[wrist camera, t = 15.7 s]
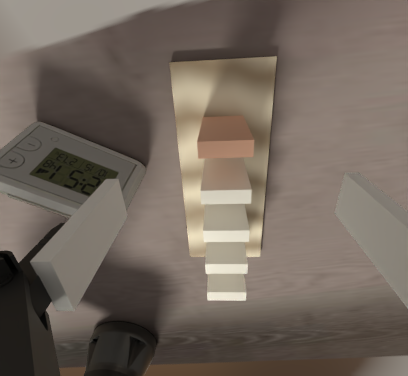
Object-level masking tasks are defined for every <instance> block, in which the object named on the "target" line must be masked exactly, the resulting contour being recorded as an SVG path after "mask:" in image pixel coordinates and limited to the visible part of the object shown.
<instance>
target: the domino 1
mask: <svg viewBox="0 0 408 376" xmlns="http://www.w3.org/2000/svg"><path fill="white" fill-rule="evenodd" d="M197 149H198V159H206V158H240V157H253V154H254V138H253V136H252V134H251V132H250V129H249V127H248V125H247V123H246V121H245V118H244V116H243V115H241V116H217V117H203V119H202V123H201V127H200V131H199V136H198V140H197Z"/></svg>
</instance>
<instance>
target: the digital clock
mask: <svg viewBox="0 0 408 376" xmlns="http://www.w3.org/2000/svg"><path fill="white" fill-rule="evenodd" d="M145 172H146V168H145V166H144V165H143V164H141V163H140V162H139V161H137V160H134V159H132V158H130V157H127V156H125V155H122V154H120V153H117V152H115V151H113V150H110V149H108V148H105V147H103V146H100V145H98V144H95V143H93V142H91V141H88V140H86V139H83V138H81V137H78V136H76V135H73V134H71V133H68V132H66V131H64V130H61V129H59V128H56V127H54V126H51V125H48V124H46V123H43V122H35V123H33V124H31V125H30V126H29V127H27V128H26V129H25V130H24V131H23V132H21V133H20V134H19V135H18V136H16V137H15V138H14V139H13V140H12V141H10V142H9V143H8V144H7V145H5V146H4V147H3V148H2V149H1V150H0V193H2V194H5V195H8V197H10V198H13V199H16V200H19V201H21V202H24V203H27V204H30V205H33V206H36V207H38V208H41V209H44V210H47V211H50V212H53V213H56V214H58V215H61V216H64V217H67V218H71V217H72V215H73V214H74V213H75V212H76V211H77V210H78V209H79V208H80V207H81V206H82V205H83V204H84V202H85V201H86V200H87V199H88V198H89V197H90V196H91V195H92V194H93V193H94V192H95V191H96V189H97V188H98V187H99V186H100V185H101V184H102V183H103V182H104V181H105V180H106V179H119V183H120V187H121V191H122V195H123V199H124V203H125V207H126V210H127V208H128V206H129V204H130V203H131V201H132V199H133V197H134V195H135V193H136V191H137V189H138V187H139V185H140V183H141V181H142V179H143V177H144V175H145Z"/></svg>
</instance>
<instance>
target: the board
mask: <svg viewBox="0 0 408 376" xmlns="http://www.w3.org/2000/svg"><path fill="white" fill-rule="evenodd" d="M276 60H277V56H273V57H255V58H238V59H221V60H203V61H186V62H169V63H170V72H171V82H172V91H173V100H174V110H175V119H176V129H177V138H178V147H179V157H180V166H181V175H182V185H183V194H184V203H185V213H186V222H187V232H188V241H189V250H190V257H206V242H204V238H203V225H204V213H205V204H201V193H200V189H201V182H202V174H203V166H204V159H198V149H197V140H198V136H199V131H200V127H201V123H202V119H203V117H217V116H241V115H243V116H244V118H245V121H246V123H247V125H248V127H249V129H250V132H251V134H252V136H253V138H254V154H253V157H243V158H244V162H245V166H246V170H247V174H248V178H249V181H250V185H251V189H252V193H251V204H245V209H246V214H247V220H248V225H249V230H250V231H249V242H245V249H246V256H247V257H260V249H261V237H262V226H263V214H264V202H265V190H266V178H267V167H268V155H269V143H270V131H271V119H272V107H273V96H274V84H275V72H276Z"/></svg>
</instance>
